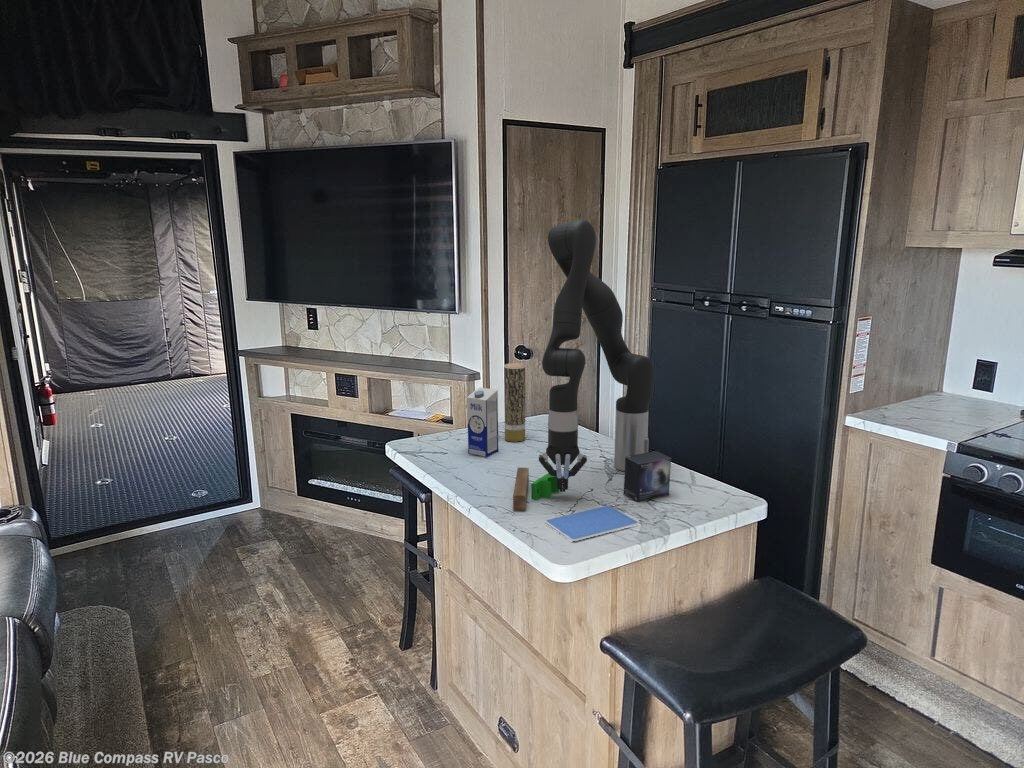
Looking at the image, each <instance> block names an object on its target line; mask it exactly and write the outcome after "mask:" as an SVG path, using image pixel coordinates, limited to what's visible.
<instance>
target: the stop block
mask: <svg viewBox="0 0 1024 768" xmlns="http://www.w3.org/2000/svg"><path fill="white" fill-rule="evenodd" d="M529 470H530V469H529V467H517V470H516V474H515V475H516V476H515V482H514V487H513V488H514V489H513V495H512V503H513V504H512V511H513V510H514V512H526V509H527V498H528V491H529V480H530V479H529V478H530V477H529V476H530V475H529V473H530V471H529Z"/></svg>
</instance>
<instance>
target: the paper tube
mask: <svg viewBox="0 0 1024 768" xmlns="http://www.w3.org/2000/svg"><path fill="white" fill-rule="evenodd" d="M503 372H504V373H503V374H504V375H503V376H504V377H503V378H504V379H503V382H504V385H503V386H504V387H503V389H504V391H503V392H504V394H503V395H504V397H503V399H504V400H503V401H504V407H503V408H504V440H505V441H507V442H510V443H511V442H512V443H519V442H518V441H520V442H523V441H525V439H526V365H525V364H524V363H518V362H514V363H513V362H512V363H511V362H510V363H505V364H504V365H503Z"/></svg>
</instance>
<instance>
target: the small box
mask: <svg viewBox="0 0 1024 768" xmlns="http://www.w3.org/2000/svg"><path fill="white" fill-rule="evenodd" d="M671 464H672V457H670V456H668V455H665V454H664V453H662V452H659V451H658V450H654V451H648V453H642V454H637V455H631V456H626V457H625V471H624V477H623V478H624V479H623V480H624V481H623V483H624V484H623V495H624V496H626V497H628V498H630V499H632V500H634V501H635V502H637V503H638V502H642V501H648V500H652V499H657V498H660V497H666V496H669V495H670V481H671V467H672V465H671Z"/></svg>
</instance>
